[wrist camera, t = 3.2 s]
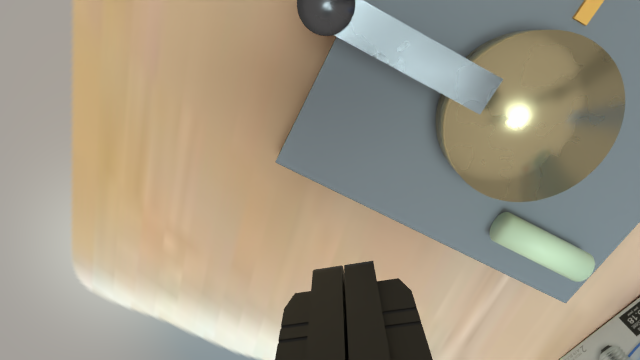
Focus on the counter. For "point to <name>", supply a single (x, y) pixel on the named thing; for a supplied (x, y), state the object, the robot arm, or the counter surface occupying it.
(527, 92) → the tan disc with handle
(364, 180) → the instrument base
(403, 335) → the robot arm
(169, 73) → the counter surface
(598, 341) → the light bulb box
